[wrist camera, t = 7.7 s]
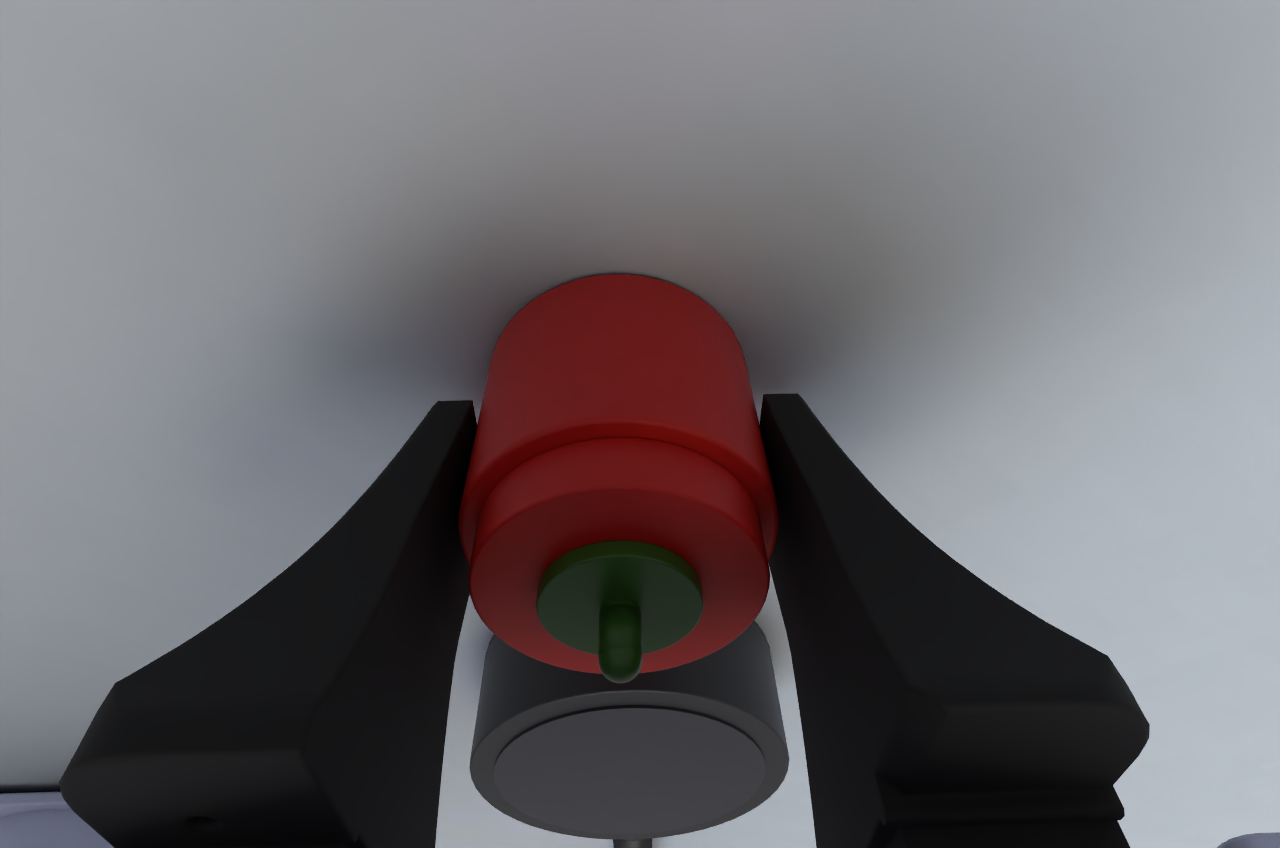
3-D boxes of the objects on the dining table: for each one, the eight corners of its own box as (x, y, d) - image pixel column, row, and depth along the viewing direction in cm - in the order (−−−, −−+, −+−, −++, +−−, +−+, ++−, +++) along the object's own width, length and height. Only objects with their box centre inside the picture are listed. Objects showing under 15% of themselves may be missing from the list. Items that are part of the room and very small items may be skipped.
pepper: (736, 474, 17) (786, 763, 12) (506, 479, 17) (461, 772, 12) (757, 269, 13) (838, 552, 8) (472, 274, 13) (388, 563, 8)
